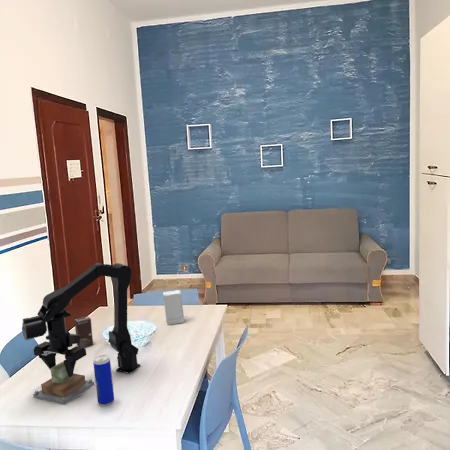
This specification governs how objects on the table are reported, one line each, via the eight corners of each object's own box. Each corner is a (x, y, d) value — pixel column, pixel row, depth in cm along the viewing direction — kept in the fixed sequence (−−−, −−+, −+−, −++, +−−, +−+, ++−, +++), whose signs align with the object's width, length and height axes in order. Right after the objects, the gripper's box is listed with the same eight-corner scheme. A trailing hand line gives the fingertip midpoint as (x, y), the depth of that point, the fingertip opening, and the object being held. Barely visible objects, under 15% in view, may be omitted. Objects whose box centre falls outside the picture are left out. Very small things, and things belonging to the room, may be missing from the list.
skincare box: (182, 319, 221) (180, 289, 219) (184, 323, 215) (182, 292, 213) (165, 321, 219) (162, 291, 217) (166, 325, 213) (163, 294, 211)
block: (74, 377, 158) (72, 364, 157) (63, 384, 154) (61, 370, 153) (63, 375, 160) (61, 362, 160) (52, 382, 156) (50, 368, 155)
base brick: (85, 383, 160) (84, 375, 159) (64, 397, 151) (63, 389, 150) (64, 379, 164) (63, 371, 164) (42, 392, 155) (41, 384, 155)
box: (79, 349, 193) (76, 321, 191) (76, 346, 196) (73, 319, 195) (94, 345, 196) (91, 318, 194) (90, 342, 200) (87, 315, 198)
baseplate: (94, 384, 161) (93, 379, 160) (64, 404, 148) (63, 399, 148) (64, 378, 167) (63, 373, 167) (33, 397, 155) (32, 392, 154)
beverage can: (99, 398, 151) (94, 355, 149) (115, 397, 151) (110, 353, 149) (96, 407, 146) (91, 362, 143) (113, 405, 146) (108, 360, 144)
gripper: (95, 325, 158) (100, 368, 160) (54, 320, 166) (60, 361, 168) (71, 337, 148) (76, 383, 150) (29, 331, 156) (35, 375, 158)
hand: (62, 374), depth 157 cm, fingers open, 7 cm apart
